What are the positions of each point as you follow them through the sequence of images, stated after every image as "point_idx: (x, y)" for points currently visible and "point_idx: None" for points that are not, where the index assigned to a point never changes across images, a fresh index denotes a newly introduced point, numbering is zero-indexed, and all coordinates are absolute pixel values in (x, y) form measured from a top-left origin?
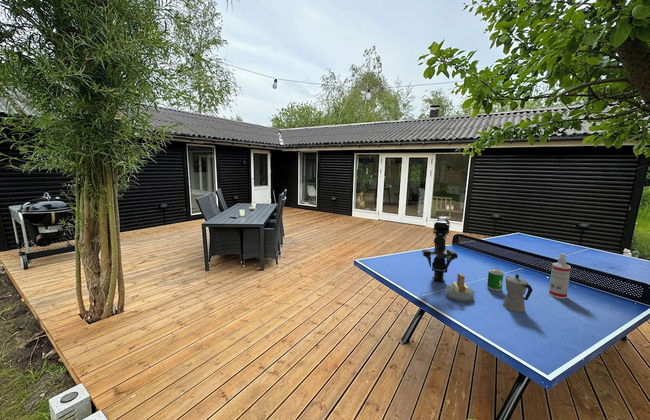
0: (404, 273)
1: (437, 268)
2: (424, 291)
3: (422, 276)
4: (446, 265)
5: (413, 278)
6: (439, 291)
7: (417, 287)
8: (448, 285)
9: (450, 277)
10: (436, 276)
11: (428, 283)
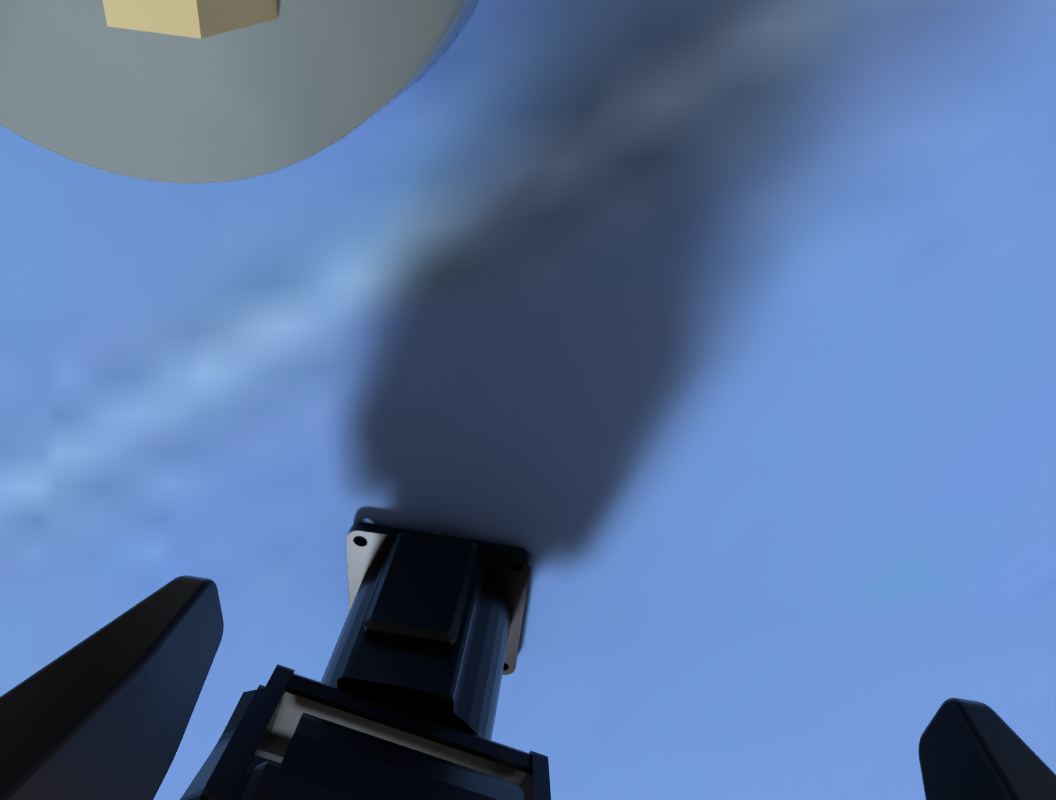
0: (920, 790)
1: (446, 777)
2: (1016, 55)
3: (662, 700)
4: (144, 728)
5: (870, 646)
6: (611, 92)
7: (1053, 282)
8: (366, 115)
9: (225, 661)
10: (477, 628)
11: (682, 471)
